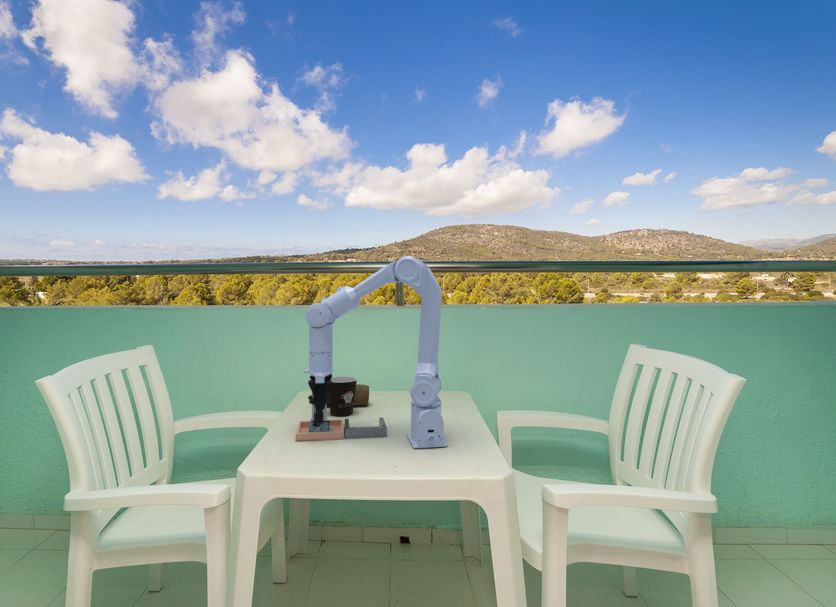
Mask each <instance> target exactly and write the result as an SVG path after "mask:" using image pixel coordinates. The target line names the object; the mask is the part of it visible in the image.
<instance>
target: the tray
mask: <svg viewBox="0 0 836 607" xmlns="http://www.w3.org/2000/svg"><path fill="white" fill-rule="evenodd" d="M328 421H329V426H333V427H329V429H332V430H335V431H328V432H309V423H310V422H311V420H300V421H298V422H297V427H296V431H295V442H313V441H332V440H333V441H334V440H335V441H336V440H344V439H345V428H344V420H343V419H328ZM334 426H335V427H334Z"/></svg>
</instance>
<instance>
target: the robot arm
mask: <svg viewBox="0 0 836 607" xmlns="http://www.w3.org/2000/svg"><path fill="white" fill-rule="evenodd" d="M392 283H395V284H396V283H403V284H405V285H407V286H408V287H411V288H412V290H413V291H415V293H417V294H418V296H419V297H420V299H421V300H420V301H421V302H420V316H419V317H420V318H419V319H420V320H419V335H418V352H417V353H418V355H417V365H416V366H417V367H416V371H415V376H414V377H415V378H414V381H413V383H412V385H411V387H410V391H409V393H410V394H409V395H410V398H411V401H410V407H411V408H410V410H411V411H410V432H409V433H406V436H407V438H408V440H409V442H410V444H411V445H412V446H411V447H412V448H414V449H424V448H425V449H428V448H445V447H448V444H447V442H446V441H445V439H444V417H443V415H442V400H441V398H440V397H439V396H438V394H440V392H441V390H442V381H441V378H440V376H439V364H438V362H439V349H440V348H439V344H440V329H441V313H442V312H441V311H442V310H441V309H442V299H443V298H442V297H443V295H442V294H443V290H442V287H441V285H440V284H439V282H438V281H437V278H436V277H435V275H434V274H433V272H432V270H431V267H430V266H428V264H426V263H425V262H423V261H422V260H421V259H419V258H416V257H414V256H412V255H405V256H402V257H400V258H399V259H398V260H396V261H392V262H390V263H388V264H386V265H385V266H384V267H382V268H381V269H379V270H378V271H376V272H374V273H372V275H370V276H369V277H367V278H366V279H364V280H362V281H361V282H360V283H358V284H357V285H355V286H354V287H351V286H344V287H343V286H339V287H338V288H336V292H334V293H333V294H331V295H329V296H328V297H323V298H321V299H320V301H321V302H320V303H319V302H317V303H315V302H314V303H312V304H311V305H310V306H309V307H308V308H307V309H306V312H305V320H306V322H307V323H308V326H309V327H308V328H309V329H308V331H309V332H308V368H305V369H303V373H304V374H309V379H310V380H308V382H307V384H308V387H309V389H310V391H311V395H312V394H313V399H314V405H315V409H316V410H324V409H325V405H326V399H327V394H328V391H329V388H330V386H331V384H332V381H330V380H331V378H332V377H333V373H334V368H333V341H334V340H333V339H334V338H333V336H334V334H333V324H334V323H335V322H336V320H338V319H340V318H342V317H343V316H344V315H346V314H348V313H350V312H351V311H353V310H354V309H356V308H358V307H359V305H360V302H361V299H363V298H364V297H366V296H368V295H369V294H371V293H373V292H375V291H377V290H379V289H381V288H382V287H384V286H386V285H387V284H392Z"/></svg>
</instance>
